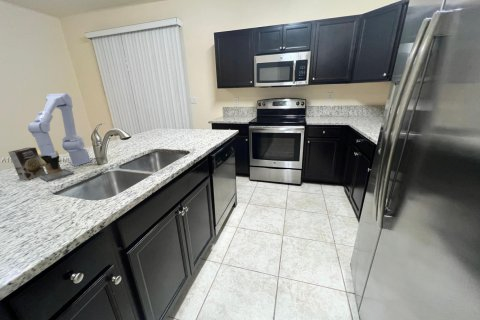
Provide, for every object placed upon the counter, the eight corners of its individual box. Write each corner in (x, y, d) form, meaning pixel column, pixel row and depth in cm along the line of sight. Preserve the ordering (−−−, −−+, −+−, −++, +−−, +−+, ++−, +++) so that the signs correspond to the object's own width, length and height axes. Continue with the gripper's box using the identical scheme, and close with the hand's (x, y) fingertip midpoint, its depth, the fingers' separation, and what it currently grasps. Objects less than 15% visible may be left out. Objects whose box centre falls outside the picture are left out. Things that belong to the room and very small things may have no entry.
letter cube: (58, 169, 116) (55, 161, 114) (61, 171, 114) (58, 162, 112) (47, 172, 112) (43, 164, 110) (50, 174, 110) (47, 165, 108)
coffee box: (28, 180, 110) (16, 152, 104) (19, 179, 111) (7, 151, 106) (46, 173, 118) (36, 147, 113) (38, 173, 119) (27, 147, 114)
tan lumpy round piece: (41, 167, 130) (35, 151, 126) (35, 164, 136) (29, 149, 132) (63, 161, 139) (58, 146, 135) (56, 159, 145) (51, 144, 141)
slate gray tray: (65, 170, 122) (64, 168, 121) (74, 173, 116) (73, 171, 115) (39, 177, 112) (38, 175, 112) (47, 182, 106) (46, 179, 106)
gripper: (30, 145, 108) (40, 168, 113) (40, 147, 101) (49, 172, 106) (47, 142, 114) (55, 164, 119) (57, 144, 107) (66, 168, 111)
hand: (54, 168), depth 112 cm, fingers closed on letter cube, 5 cm apart
